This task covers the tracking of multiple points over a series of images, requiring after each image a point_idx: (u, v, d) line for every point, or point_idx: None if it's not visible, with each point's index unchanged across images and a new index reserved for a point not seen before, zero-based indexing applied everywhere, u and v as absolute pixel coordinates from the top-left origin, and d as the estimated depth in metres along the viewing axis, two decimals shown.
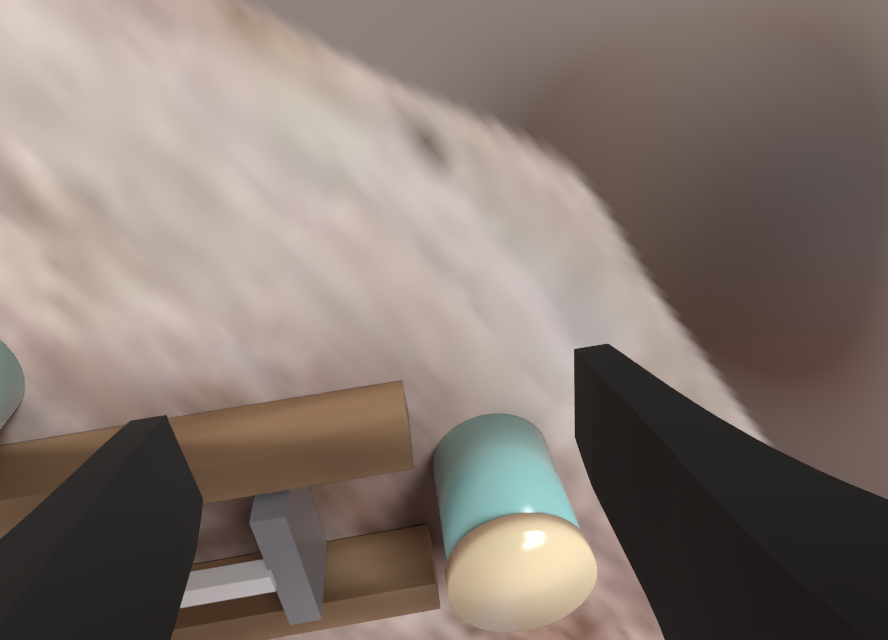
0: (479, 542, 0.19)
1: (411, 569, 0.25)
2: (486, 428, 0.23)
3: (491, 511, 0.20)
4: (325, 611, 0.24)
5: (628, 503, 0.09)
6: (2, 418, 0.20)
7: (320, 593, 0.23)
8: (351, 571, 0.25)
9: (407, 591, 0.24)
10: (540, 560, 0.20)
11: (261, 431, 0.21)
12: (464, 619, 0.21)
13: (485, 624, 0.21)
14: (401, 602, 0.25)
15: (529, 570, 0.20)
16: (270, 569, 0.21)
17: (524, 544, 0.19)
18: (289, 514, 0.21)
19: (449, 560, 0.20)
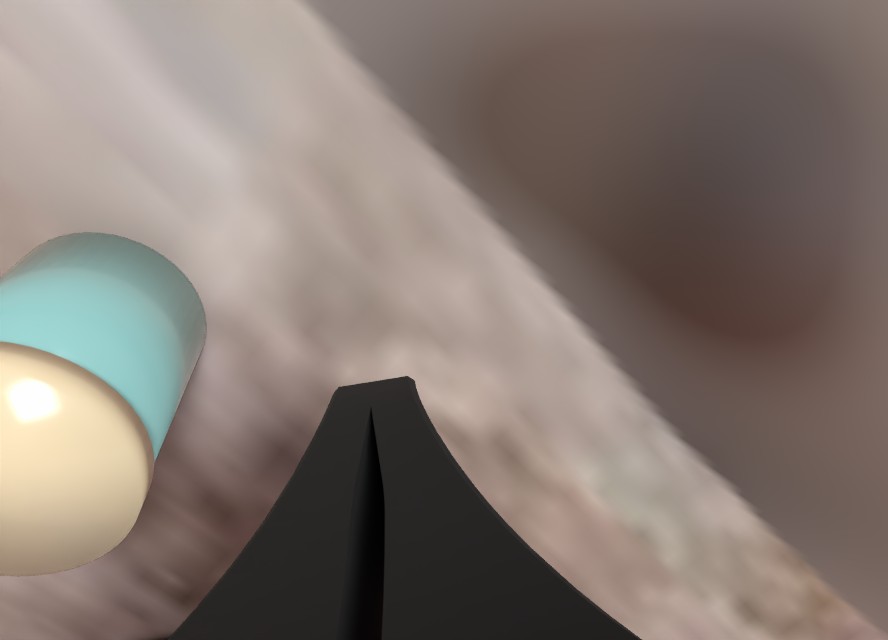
0: None
1: None
2: (53, 247, 0.14)
3: None
4: None
5: None
6: None
7: None
8: None
9: None
10: None
11: None
12: None
13: None
14: None
15: None
16: None
17: None
18: None
19: None
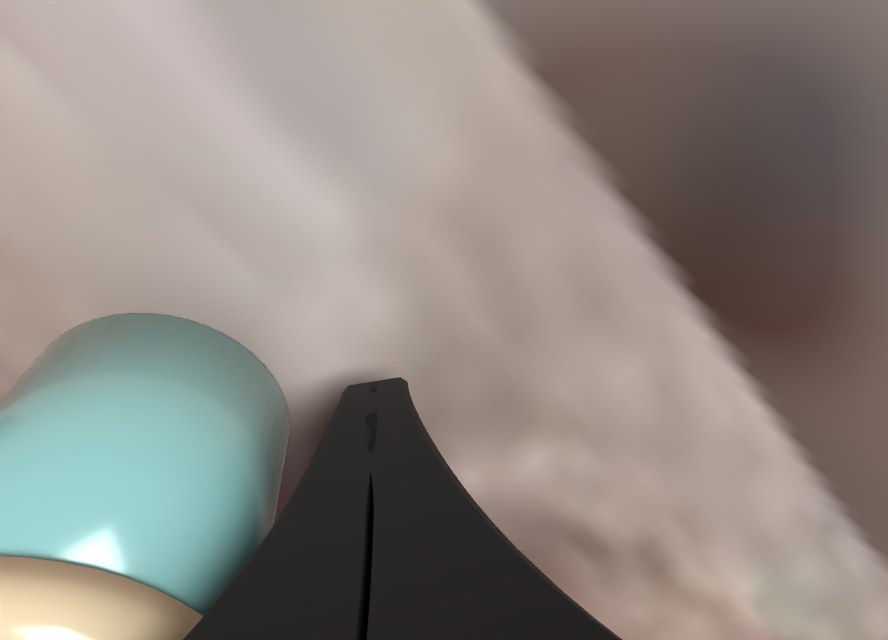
0: None
1: None
2: (88, 340, 0.10)
3: None
4: None
5: None
6: None
7: None
8: None
9: None
10: None
11: None
12: None
13: None
14: None
15: None
16: None
17: None
18: None
19: None
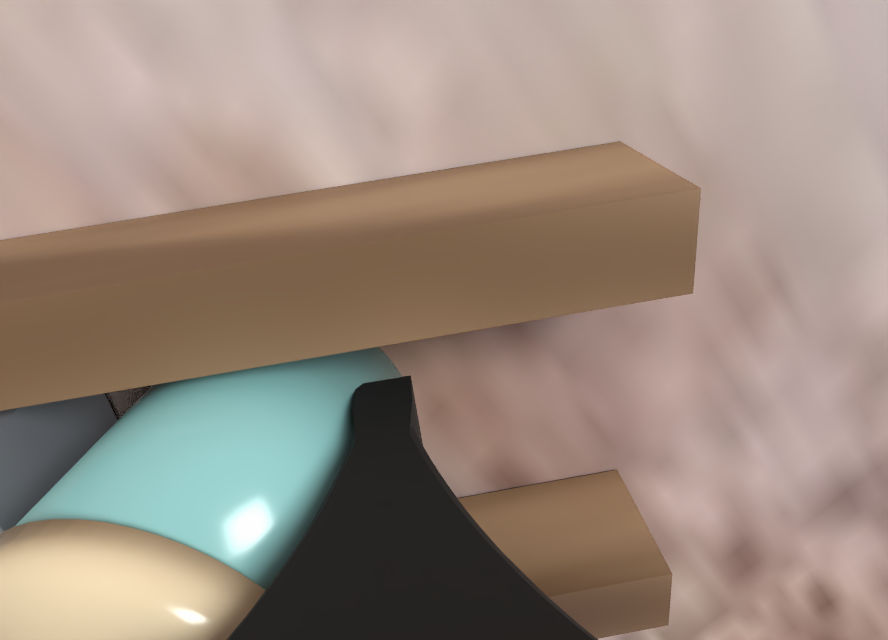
0: None
1: (612, 548, 0.13)
2: None
3: (45, 505, 0.07)
4: None
5: None
6: None
7: None
8: None
9: (614, 590, 0.12)
10: None
11: (339, 215, 0.09)
12: None
13: None
14: (598, 613, 0.12)
15: None
16: None
17: (33, 611, 0.06)
18: None
19: None
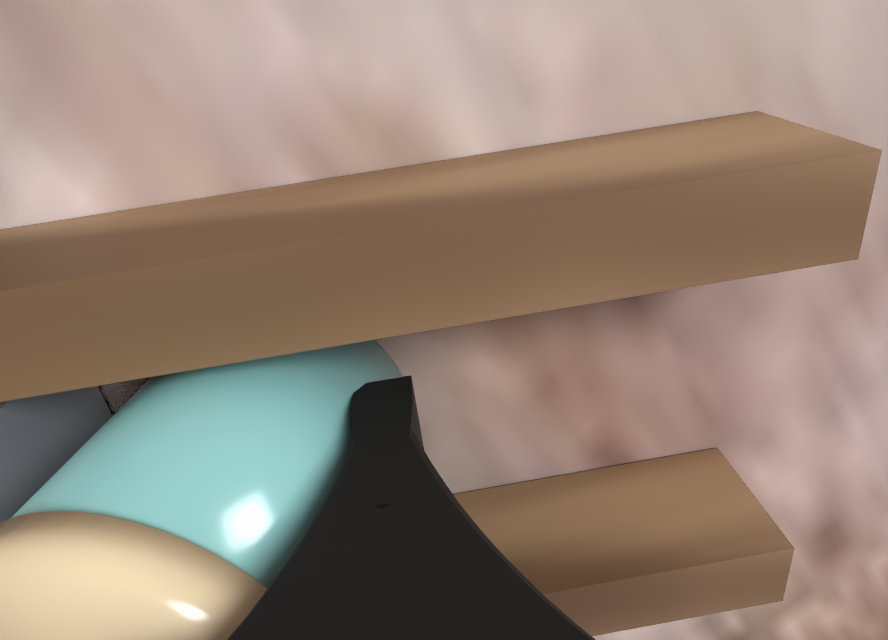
0: None
1: (727, 523, 0.13)
2: None
3: (45, 495, 0.07)
4: (570, 605, 0.12)
5: None
6: None
7: None
8: (605, 529, 0.13)
9: (735, 564, 0.12)
10: None
11: (497, 180, 0.09)
12: None
13: None
14: (717, 588, 0.12)
15: None
16: None
17: (35, 604, 0.06)
18: None
19: None
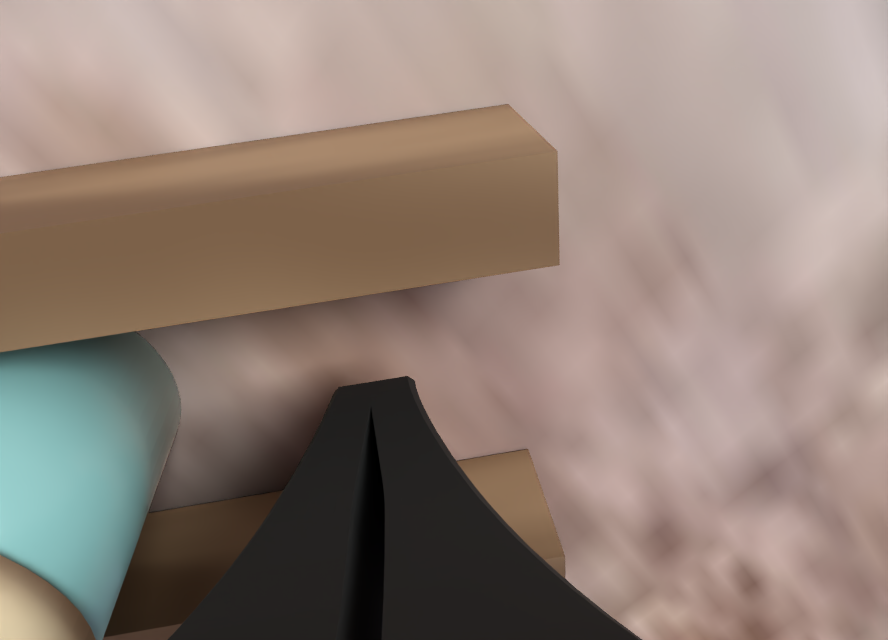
0: None
1: None
2: None
3: None
4: None
5: None
6: None
7: None
8: None
9: None
10: None
11: (185, 176, 0.09)
12: None
13: None
14: None
15: None
16: None
17: None
18: None
19: None
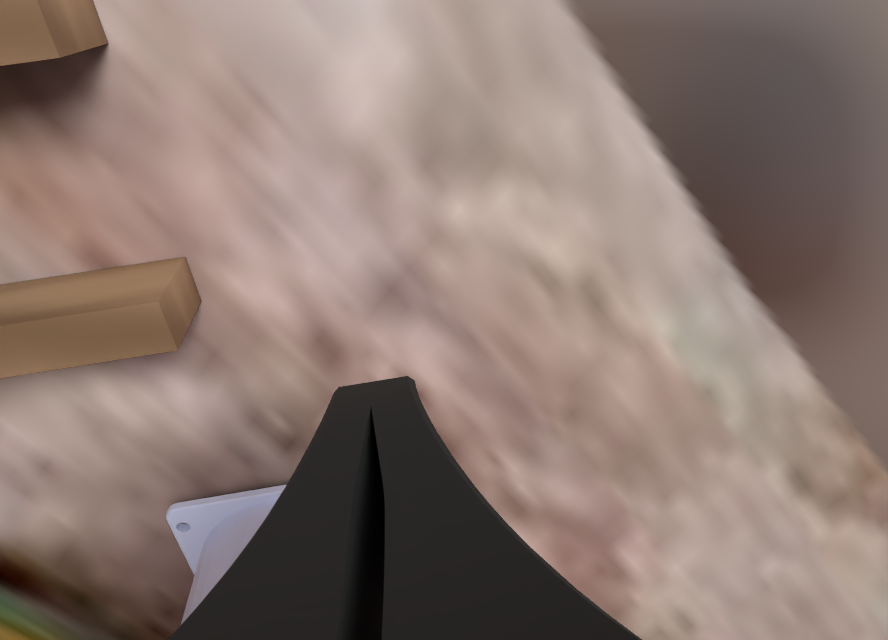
0: None
1: (134, 292, 0.17)
2: None
3: None
4: None
5: None
6: None
7: None
8: (52, 299, 0.18)
9: (118, 314, 0.17)
10: None
11: None
12: None
13: None
14: (114, 335, 0.17)
15: None
16: None
17: None
18: None
19: None
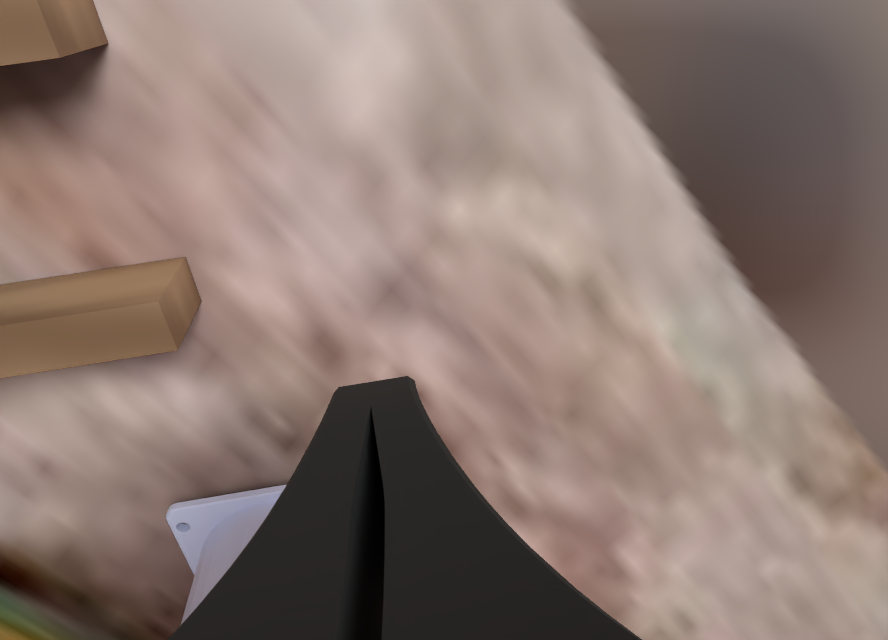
0: None
1: (134, 292, 0.17)
2: None
3: None
4: None
5: None
6: None
7: None
8: (52, 299, 0.18)
9: (118, 314, 0.17)
10: None
11: None
12: None
13: None
14: (114, 335, 0.17)
15: None
16: None
17: None
18: None
19: None
